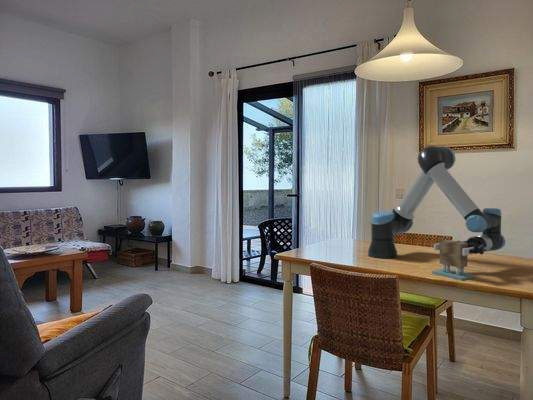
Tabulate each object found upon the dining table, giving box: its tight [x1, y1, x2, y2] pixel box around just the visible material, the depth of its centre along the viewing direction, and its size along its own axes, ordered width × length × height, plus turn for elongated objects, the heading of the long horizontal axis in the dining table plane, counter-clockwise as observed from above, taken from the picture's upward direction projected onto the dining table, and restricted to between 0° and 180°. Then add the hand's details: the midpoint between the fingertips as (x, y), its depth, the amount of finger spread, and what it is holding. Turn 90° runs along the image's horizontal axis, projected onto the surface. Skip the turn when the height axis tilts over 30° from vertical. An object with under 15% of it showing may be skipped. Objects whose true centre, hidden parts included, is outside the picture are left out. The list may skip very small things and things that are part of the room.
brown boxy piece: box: [439, 239, 468, 268], centre depth 170 cm, size 10×4×10 cm, turn 30°
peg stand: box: [431, 264, 476, 281], centre depth 171 cm, size 14×9×4 cm, turn 30°
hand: (448, 249), depth 169 cm, fingers open, 13 cm apart
